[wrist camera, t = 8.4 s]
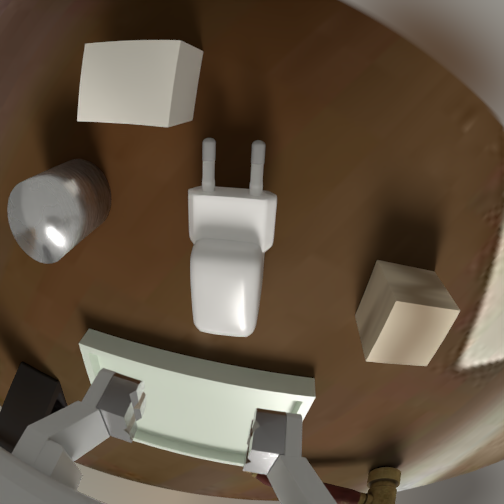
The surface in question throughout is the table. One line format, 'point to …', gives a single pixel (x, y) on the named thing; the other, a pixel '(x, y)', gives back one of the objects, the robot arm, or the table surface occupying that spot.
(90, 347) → the sage tray
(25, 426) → the phone stand
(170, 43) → the cream block
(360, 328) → the birch cube
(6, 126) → the table surface
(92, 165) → the metal cylinder
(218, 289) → the power adapter
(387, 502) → the gavel
